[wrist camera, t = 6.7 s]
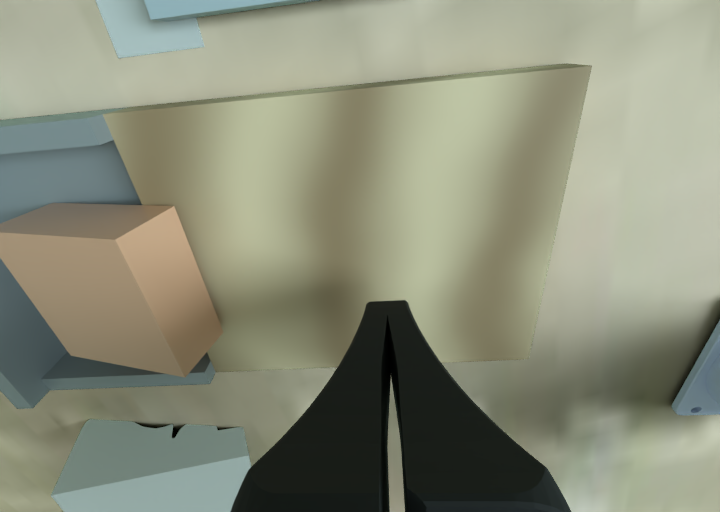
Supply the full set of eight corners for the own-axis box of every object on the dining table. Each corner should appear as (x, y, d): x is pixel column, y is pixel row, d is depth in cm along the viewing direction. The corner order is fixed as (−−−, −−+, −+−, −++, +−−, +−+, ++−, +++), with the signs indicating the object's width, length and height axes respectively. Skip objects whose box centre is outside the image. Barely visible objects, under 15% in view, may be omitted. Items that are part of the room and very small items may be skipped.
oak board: (567, 63, 11) (591, 65, 10) (516, 336, 18) (528, 359, 16) (130, 107, 13) (102, 114, 11) (226, 349, 19) (215, 372, 17)
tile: (174, 205, 12) (115, 239, 10) (223, 332, 15) (185, 377, 13) (52, 202, 14) (-20, 231, 12) (118, 317, 17) (70, 355, 15)
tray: (130, 107, 13) (62, 124, 10) (226, 349, 19) (201, 402, 16) (-98, 130, 13) (-222, 152, 10) (67, 356, 19) (17, 408, 17)
